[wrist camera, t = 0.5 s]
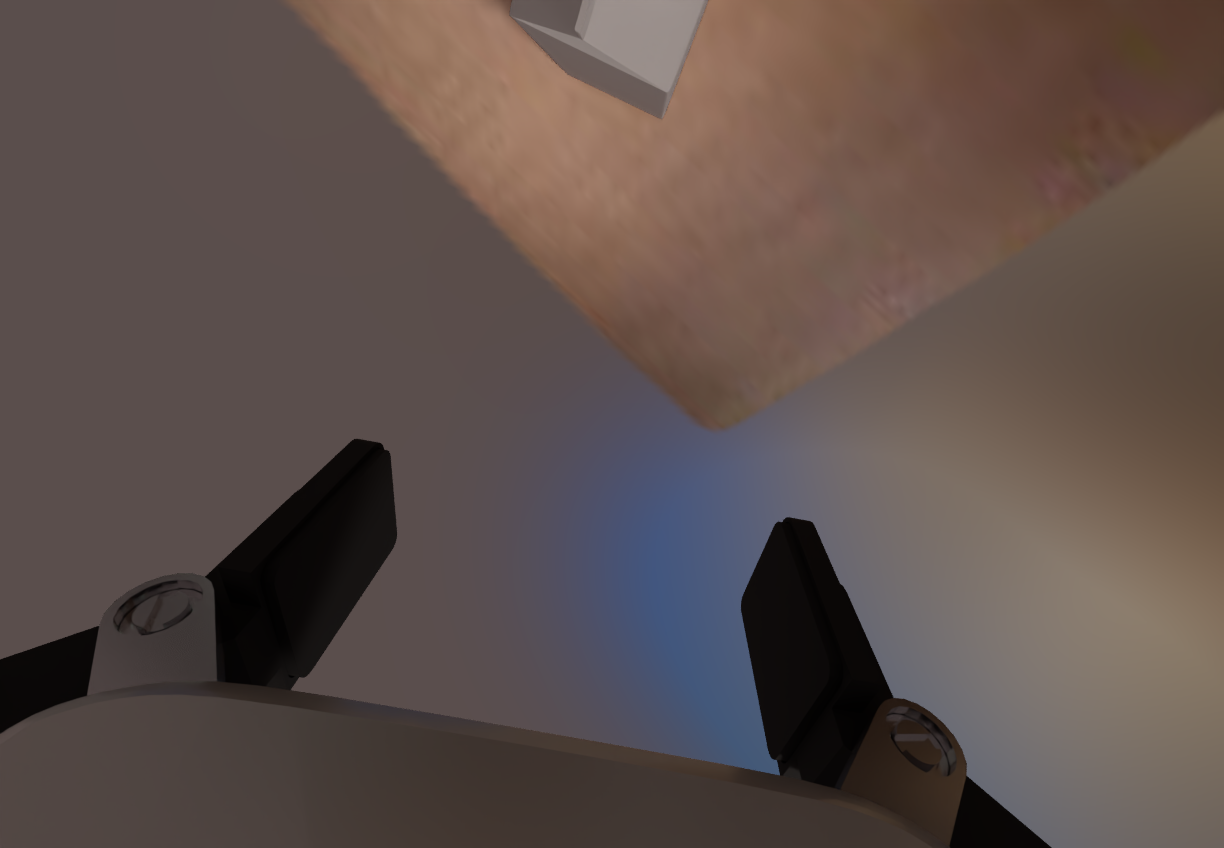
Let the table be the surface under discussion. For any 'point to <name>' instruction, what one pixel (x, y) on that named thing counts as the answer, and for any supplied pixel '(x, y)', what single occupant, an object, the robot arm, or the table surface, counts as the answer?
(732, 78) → the table surface
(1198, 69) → the table surface
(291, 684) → the robot arm
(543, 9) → the milk carton
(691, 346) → the table surface
